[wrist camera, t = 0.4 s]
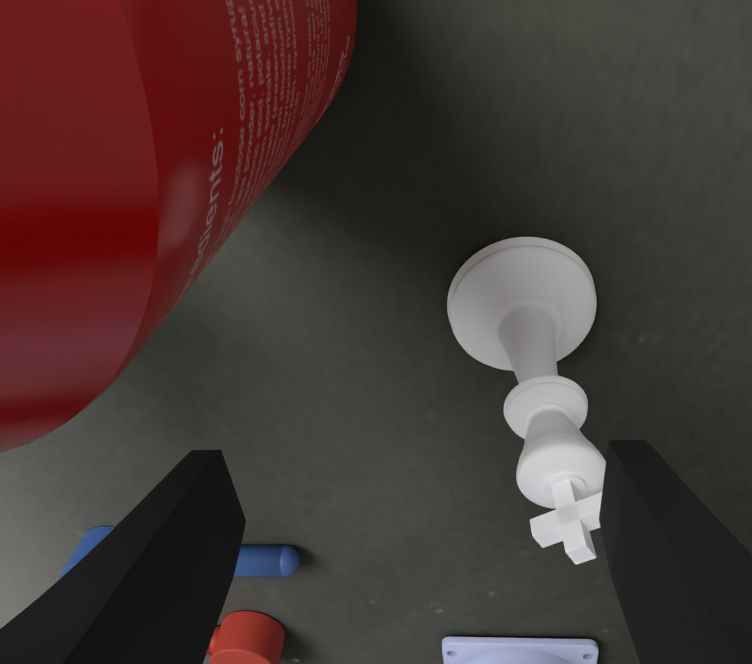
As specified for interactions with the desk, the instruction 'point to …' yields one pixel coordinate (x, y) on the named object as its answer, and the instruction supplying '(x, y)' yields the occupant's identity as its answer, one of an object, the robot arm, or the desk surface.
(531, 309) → the chess piece
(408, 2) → the desk surface
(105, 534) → the blue spoon
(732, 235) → the desk surface
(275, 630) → the red spoon
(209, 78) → the soda can
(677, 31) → the desk surface
